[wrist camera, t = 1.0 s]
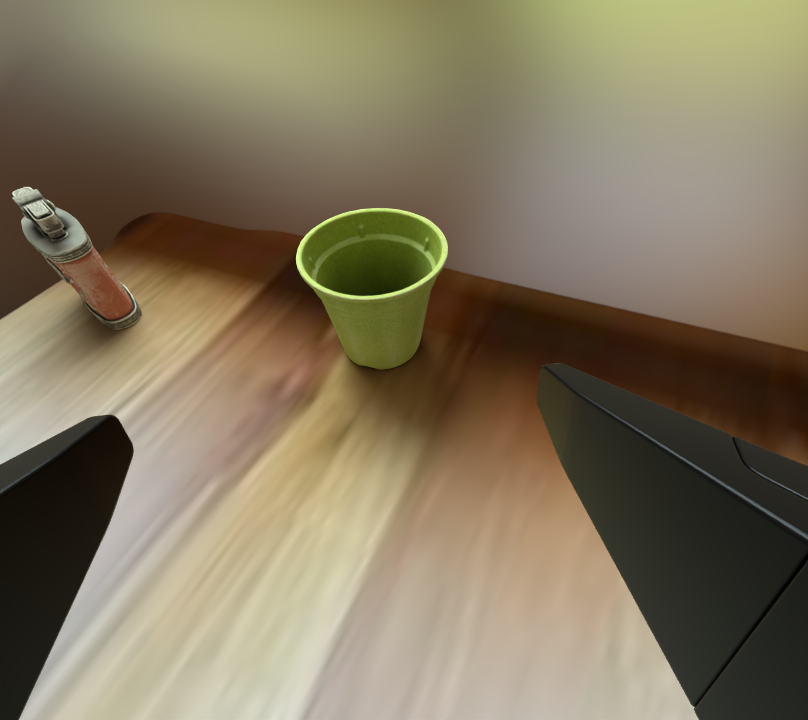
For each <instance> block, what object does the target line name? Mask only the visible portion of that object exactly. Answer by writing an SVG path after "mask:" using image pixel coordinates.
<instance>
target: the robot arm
mask: <svg viewBox="0 0 808 720" xmlns="http://www.w3.org/2000/svg"><path fill="white" fill-rule="evenodd" d="M537 404H538V408H539V410H540V413H541V415H542V418H543V420H544V423H545V425H546V428H547V430H548V433H549V435H550V438H551V440H552V443H553V445H554V448H555V450H556V453H557V455H558V457H559V460H560V462H561V464H562V466H563V468H564V470H565V472H566V474H567V476H568V478H569V480H570V482H571V483H572V485H573V487H574V489H575V491H576V493H577V495H578V496H579V498H580V500H581V502H582V504H583V506H584V507H585V509H586V511H587V513H588V515H589V517H590V519H591V520H592V522H593V524H594V526H595V528H596V530H597V531H598V533H599V535H600V537H601V539H602V541H603V543H604V544H605V546H606V548H607V550H608V552H609V554H610V555H611V557H612V559H613V561H614V563H615V565H616V567H617V568H618V570H619V572H620V574H621V576H622V578H623V579H624V581H625V583H626V585H627V587H628V589H629V591H630V592H631V594H632V596H633V598H634V600H635V602H636V603H637V605H638V607H639V609H640V611H641V613H642V615H643V616H644V618H645V620H646V622H647V624H648V626H649V627H650V629H651V631H652V633H653V635H654V637H655V639H656V640H657V642H658V644H659V646H660V648H661V650H662V651H663V653H664V655H665V657H666V659H667V661H668V663H669V664H670V666H671V668H672V670H673V672H674V674H675V675H676V677H677V679H678V681H679V683H680V685H681V687H682V688H683V690H684V692H685V694H686V696H687V698H688V699H689V701H690V703H691V705H692V706H693V707H695V708H694V711H695V713H696V715H697V717H698V719H699V720H808V466H807V465H804V464H801V463H799V462H796V461H794V460H791V459H789V458H786V457H784V456H781V455H779V454H776V453H774V452H771V451H769V450H767V449H764V448H762V447H759V446H757V445H754V444H752V443H750V442H747V441H745V440H743V439H740V438H738V437H731V435H730V434H728V433H726V432H723V431H721V430H719V429H716V428H714V427H712V426H709V425H707V424H704V423H702V422H700V421H697V420H695V419H693V418H690V417H688V416H685V415H683V414H681V413H678V412H676V411H674V410H671V409H669V408H666V407H664V406H662V405H659V404H657V403H655V402H652V401H650V400H647V399H645V398H643V397H640V396H638V395H636V394H633V393H631V392H628V391H626V390H624V389H621V388H619V387H617V386H614V385H612V384H609V383H607V382H605V381H602V380H600V379H598V378H595V377H593V376H591V375H588V374H586V373H583V372H581V371H579V370H576V369H574V368H572V367H569V366H567V365H564V364H562V363H556V364H548V365H544V366H542V367H541V370H540V374H539V382H538V389H537ZM133 452H134V450H133V444H132V442H131V440H130V439H129V437H128V435H127V433H126V432H125V430H124V428H123V426H122V424H121V423H120V421H119V419H118V418H117V417H115V416H113V415H102V416H93V417H90V418H87V419H85V420H84V421H82V422H80V423H78V424H76V425H74V426H72V427H70V428H69V429H67V430H65V431H63V432H61V433H59V434H57V435H55V436H54V437H52V438H50V439H48V440H46V441H44V442H42V443H40V444H38V445H37V446H35V447H33V448H31V449H29V450H27V451H25V452H23V453H22V454H20V455H18V456H16V457H14V458H12V459H10V460H8V461H6V462H5V463H3V464H1V465H0V720H19V718H20V716H21V714H22V712H23V710H24V708H25V705H26V703H27V701H28V699H29V697H30V695H31V693H32V690H33V688H34V686H35V684H36V682H37V680H38V677H39V675H40V673H41V671H42V669H43V667H44V664H45V662H46V660H47V658H48V656H49V654H50V652H51V649H52V647H53V645H54V643H55V641H56V639H57V636H58V634H59V632H60V630H61V628H62V626H63V623H64V621H65V619H66V617H67V615H68V613H69V611H70V608H71V606H72V604H73V602H74V600H75V598H76V595H77V593H78V591H79V589H80V587H81V585H82V582H83V580H84V578H85V576H86V574H87V572H88V570H89V567H90V565H91V563H92V561H93V559H94V557H95V554H96V552H97V550H98V548H99V546H100V544H101V541H102V539H103V537H104V535H105V533H106V530H107V528H108V526H109V523H110V521H111V518H112V515H113V513H114V510H115V507H116V504H117V501H118V498H119V495H120V493H121V490H122V487H123V484H124V481H125V478H126V475H127V472H128V469H129V466H130V463H131V460H132V457H133Z"/></svg>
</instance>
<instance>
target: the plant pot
mask: <svg viewBox="0 0 808 720" xmlns="http://www.w3.org/2000/svg"><path fill="white" fill-rule="evenodd" d="M447 254H448V245H447V241H446V239H445V236H444V235H443V233H442V232H441V230H440V229H439V228H438V227H437V226H436V225H434V224H433V223H432V222H431V221H429V220H427V219H426V218H424V217H421V216H419V215H416V214H413V213H410V212H407V211H402V210H396V209H386V208H374V209H362V210H356V211H351V212H347V213H344V214H340V215H338V216H335V217H333V218H330V219H328V220H326V221H324V222H322V223H321V224H320V225H318V226H317V227H315V228H314V229H312V230H311V231H310V232H309V233H308V234H307V235H306V236H305V237H304V238H303V240H302V241H301V243H300V245H299V247H298V251H297V255H296V263H297V267H298V270H299V272H300V274H301V276H302V278H303V279H304V280H305V282H306V283H307V284H308V285H310V286H311V287H312V288H313V289H314V291H315V292H316V294H317V295H318V296H319V297H320V298H321V299H322V301H323V304H324V306H325V308H326V310H327V312H328V315H329V317H330V319H331V321H332V323H333V326H334V328H335V330H336V332H337V334H338V337H339V339H340V342H341V344H342V346H343V348H344V351H345V353H346V354H347V356H348V357H349V358H350V359H351V360H352V361H353V362H354V363H356V364H358V365H362V366H368V367H372V368H376V369H380V370H382V369H389V368H394V367H397V366H399V365H401V364H403V363H405V362H406V361H408V360H409V359H410V358H411V357H412V356H413V355H414V354H415V352H416V351H417V349H418V346H419V344H420V340H421V335H422V330H423V325H424V320H425V315H426V310H427V305H428V301H429V296H430V291H431V288H432V286H433V284H434V282H435V280H436V278H437V275H438V274H439V273H440V272H441V270H442V269H443V267H444V265H445V263H446V260H447Z"/></svg>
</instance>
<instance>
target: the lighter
mask: <svg viewBox="0 0 808 720" xmlns="http://www.w3.org/2000/svg"><path fill="white" fill-rule="evenodd" d="M13 195H14V196H15V197H13V199H14V201H15V202H16V203H17V204H18V205H19V207H20V208H21V209H22V213H23V215H24V216H25V217H24V218H23V219H22V221H21V223H22V229H23V232H24V233H25V236H26V237H27V239H28V240H29V241H30V243H31V244H32V245H33V246H34V247H35V248H36V249H37V250H38V251H39V252H40V253H41V254H42V255H43V256H44V257H45V258H46V260H47V262H48V263H49V264H50V265H51V266H52V268H53V269H54V270H55V271H56V272H57V273H58V274H59V276H61V277H62V278H63V279H64V280H65V281H66V282H67V283H69V284H71V285H72V287H73V288H74V289H75V290H76V291H77V292H78V293H79V295H80V296H81V298H82V300H83V302H84V303H85V305H86V307H87V308H88V309H89V310H90V311H91V312H92V314H93V315H94V316H95V317H96V318H98V319H99V320H100V321H101V322H102V323H104V324H105V325H107V326H108V327H110V328H111V329H114V330H119V329H124V328H127V327H129V326H131V325H133V324H135V323H136V322H137V321H138V320H139V319H140V318H141V316H142V312H141V310H140V307H139V305H138V303H137V301H136V300H135V299H134V297H133V296H132V294H131V293H130V292H129V290H128V289H127V288H126V287H125V286H124V285H123V284H122V283H121V282H119V281H118V280H117V278H116V277H115V275H114V274H113V273H112V271H111V270H110V269H109V267H108V266H107V265H106V263H105V262H104V261H103V259H102V258H101V257H100V255H99V254H98V253H97V251H96V250H95V249H94V247H93V246H92V243H91V241H90V238H89V236H88V234H87V233H86V232H85V230H84V229H83V228H82V226H81V225H80V224H79V222H78V221H77V219H75V218H74V217H73V216H71V215H70V214H69V213H67V212H65V211H63V210H61V209H59V208H56V207H55V206H54V204H53V203H52V202H50V201H48V200H45V198H44V197H43V196H42V195H41V193H40V192H39V191H38V190H37V189H36V190H32V189H31V188H30V187H25V188H22V189H19V190H16V191H14V192H13Z"/></svg>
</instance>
